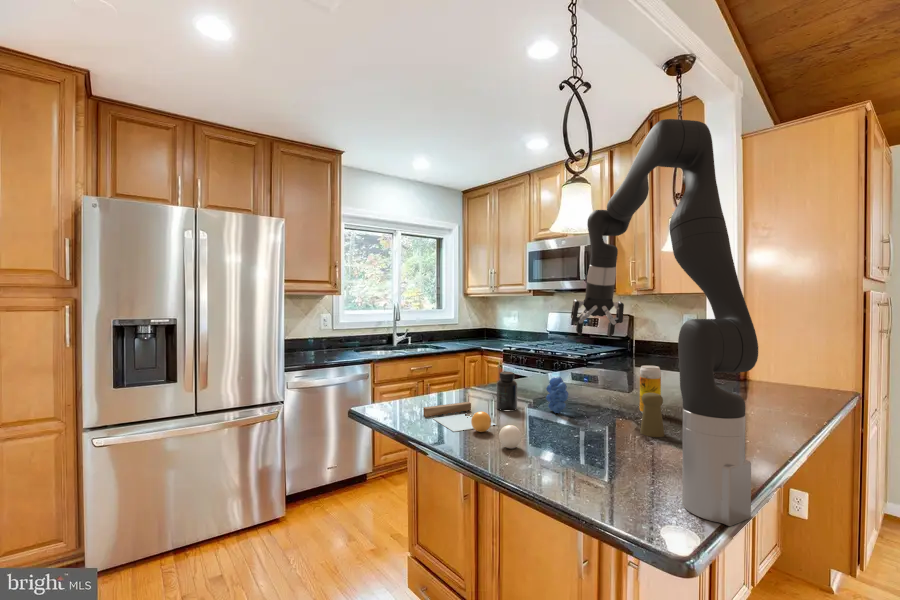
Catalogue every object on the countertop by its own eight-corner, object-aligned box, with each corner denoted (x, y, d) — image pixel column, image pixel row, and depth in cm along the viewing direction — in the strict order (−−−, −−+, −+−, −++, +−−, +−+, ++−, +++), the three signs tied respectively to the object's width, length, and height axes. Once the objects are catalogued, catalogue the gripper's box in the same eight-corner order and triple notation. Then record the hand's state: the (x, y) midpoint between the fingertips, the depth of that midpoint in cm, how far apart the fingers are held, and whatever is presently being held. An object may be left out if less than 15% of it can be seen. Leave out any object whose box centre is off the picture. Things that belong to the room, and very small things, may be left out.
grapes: (578, 417, 130) (578, 378, 130) (558, 419, 128) (558, 379, 128) (559, 408, 141) (559, 372, 141) (541, 409, 140) (541, 373, 140)
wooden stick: (471, 410, 138) (471, 403, 138) (425, 416, 130) (425, 408, 130) (468, 409, 139) (468, 401, 139) (423, 415, 132) (423, 407, 132)
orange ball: (495, 433, 115) (495, 412, 115) (477, 436, 112) (477, 415, 112) (484, 427, 120) (484, 408, 120) (467, 430, 117) (467, 410, 117)
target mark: (496, 425, 122) (496, 424, 122) (453, 432, 116) (453, 431, 116) (472, 413, 134) (472, 412, 134) (432, 418, 128) (432, 418, 128)
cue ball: (526, 449, 102) (526, 427, 102) (507, 453, 100) (507, 430, 100) (513, 442, 107) (513, 421, 107) (494, 446, 105) (494, 423, 105)
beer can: (635, 412, 136) (635, 365, 136) (648, 410, 139) (648, 364, 139) (651, 417, 131) (651, 368, 131) (665, 414, 133) (665, 367, 133)
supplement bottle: (506, 405, 145) (506, 370, 145) (521, 409, 140) (521, 373, 140) (492, 408, 141) (492, 372, 141) (507, 412, 135) (507, 375, 135)
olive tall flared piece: (667, 438, 111) (667, 396, 111) (643, 436, 112) (643, 395, 112) (660, 430, 117) (661, 391, 117) (637, 429, 118) (637, 390, 118)
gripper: (578, 283, 117) (572, 338, 121) (630, 285, 116) (623, 340, 120) (572, 277, 124) (567, 330, 128) (622, 279, 123) (615, 332, 127)
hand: (594, 335), depth 124 cm, fingers open, 8 cm apart
